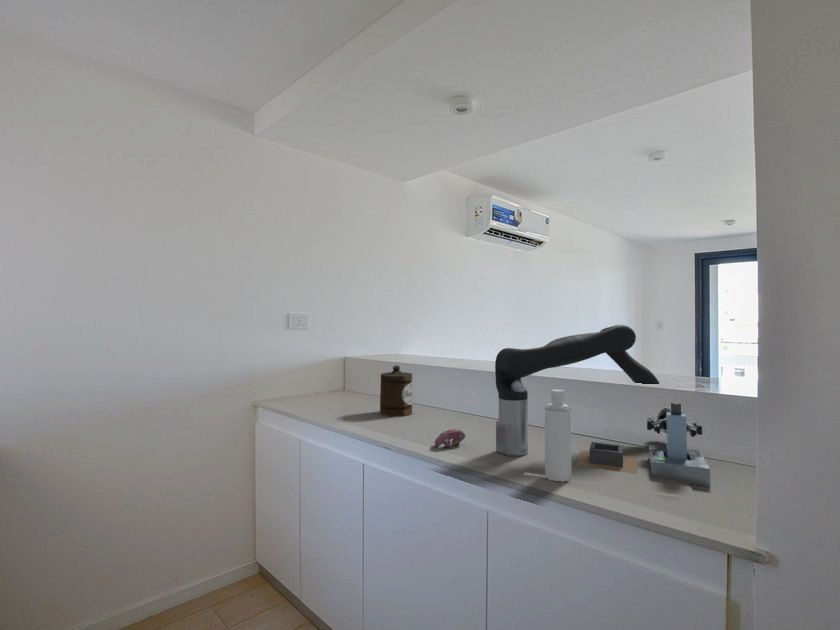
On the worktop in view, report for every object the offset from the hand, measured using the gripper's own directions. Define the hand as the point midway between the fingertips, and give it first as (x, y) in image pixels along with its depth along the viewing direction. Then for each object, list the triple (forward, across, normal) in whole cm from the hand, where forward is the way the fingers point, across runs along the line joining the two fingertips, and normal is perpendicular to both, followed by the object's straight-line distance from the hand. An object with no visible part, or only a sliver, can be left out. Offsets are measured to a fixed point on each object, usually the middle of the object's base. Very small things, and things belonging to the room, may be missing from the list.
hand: (675, 431), depth 124 cm
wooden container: (-31, -109, +10) cm, 114 cm away
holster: (+4, -18, +10) cm, 21 cm away
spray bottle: (+23, -29, +10) cm, 39 cm away
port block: (+4, 0, +10) cm, 11 cm away
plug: (+4, 0, +10) cm, 11 cm away
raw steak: (+7, -67, +10) cm, 68 cm away
